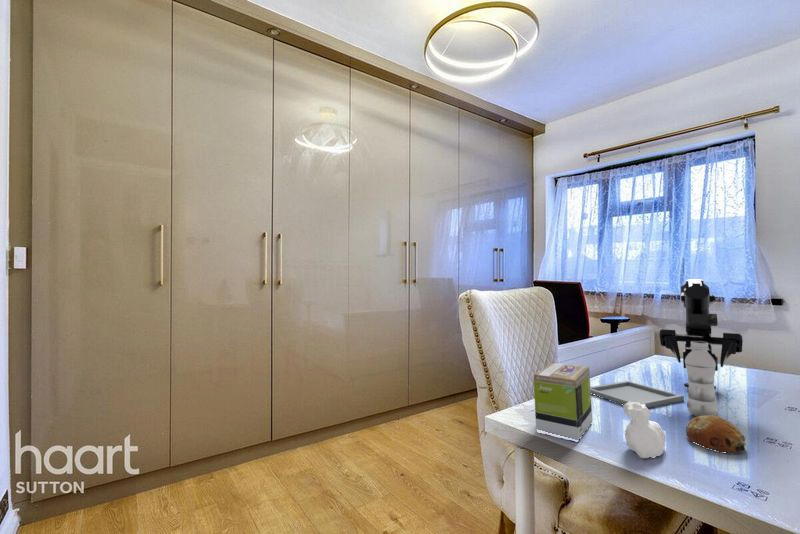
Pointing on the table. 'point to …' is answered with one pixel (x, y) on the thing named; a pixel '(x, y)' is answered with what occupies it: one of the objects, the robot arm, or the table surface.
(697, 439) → the bread roll
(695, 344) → the plastic bottle
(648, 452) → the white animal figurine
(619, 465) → the table surface
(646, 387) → the tray
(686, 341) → the robot arm
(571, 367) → the tea box
